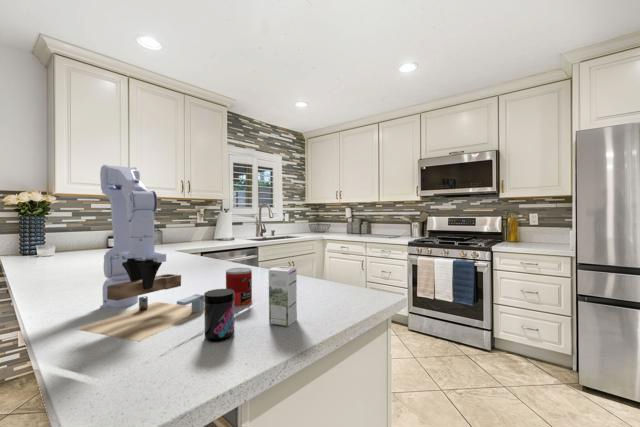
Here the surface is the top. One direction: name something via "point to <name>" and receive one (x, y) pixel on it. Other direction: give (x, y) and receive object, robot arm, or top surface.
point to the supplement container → (219, 314)
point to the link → (137, 288)
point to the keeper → (194, 302)
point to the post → (143, 303)
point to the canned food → (240, 285)
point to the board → (142, 321)
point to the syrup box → (282, 295)
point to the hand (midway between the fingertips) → (142, 288)
